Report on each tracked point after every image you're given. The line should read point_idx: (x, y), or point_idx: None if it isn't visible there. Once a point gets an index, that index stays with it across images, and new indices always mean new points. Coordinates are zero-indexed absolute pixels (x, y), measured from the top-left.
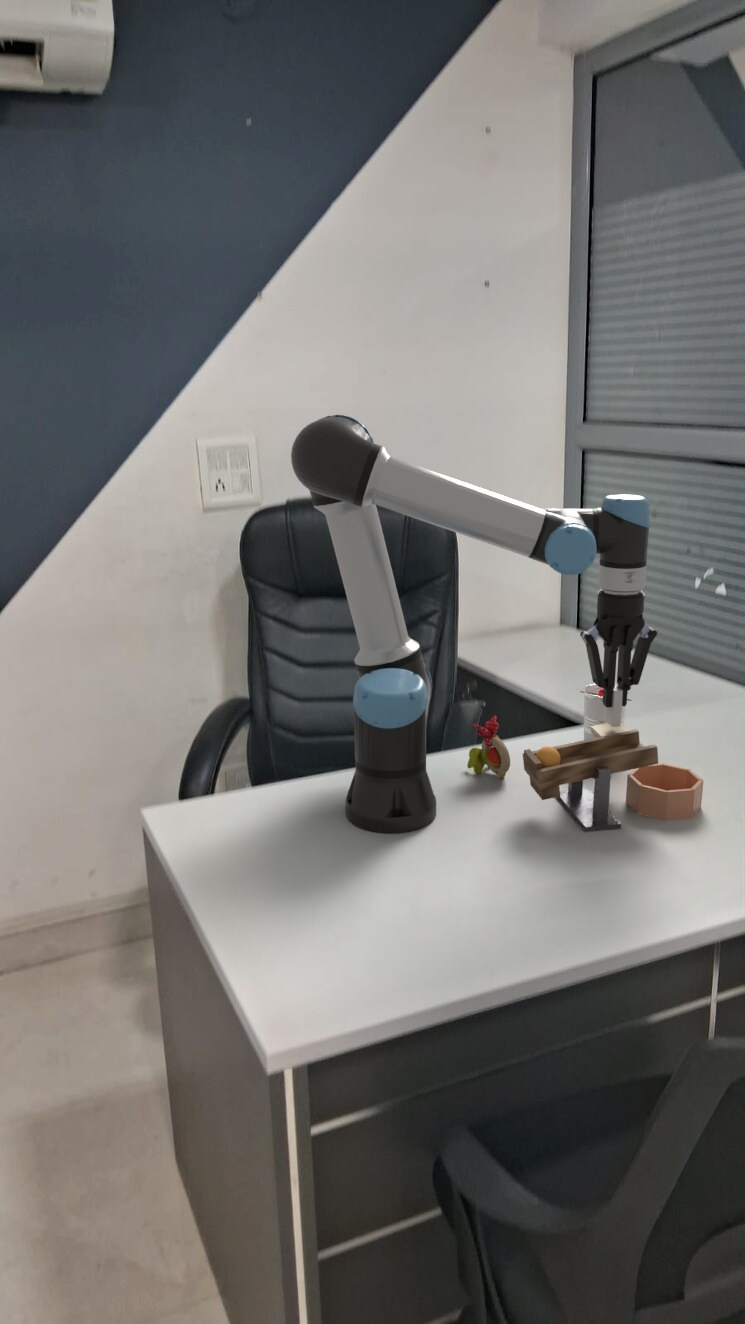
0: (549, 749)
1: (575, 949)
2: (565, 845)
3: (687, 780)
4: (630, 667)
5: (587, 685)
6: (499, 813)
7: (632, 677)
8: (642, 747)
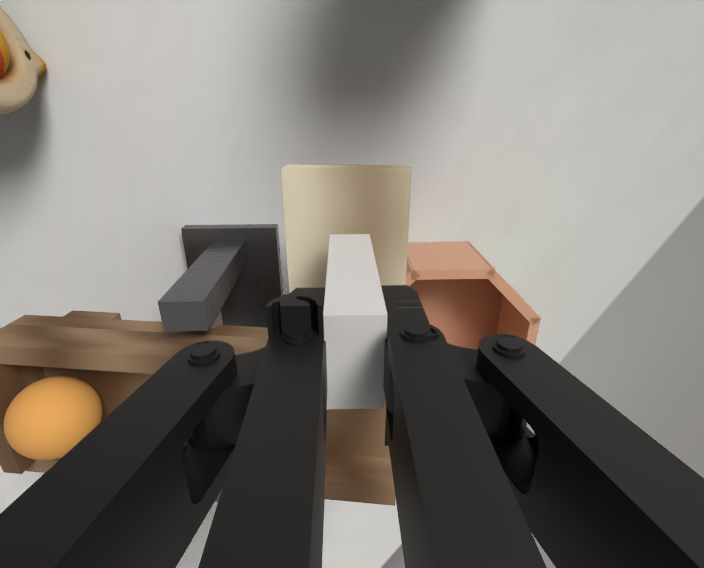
0: (33, 455)
1: None
2: None
3: (517, 314)
4: (537, 426)
5: None
6: (31, 295)
7: (490, 430)
8: (352, 489)
